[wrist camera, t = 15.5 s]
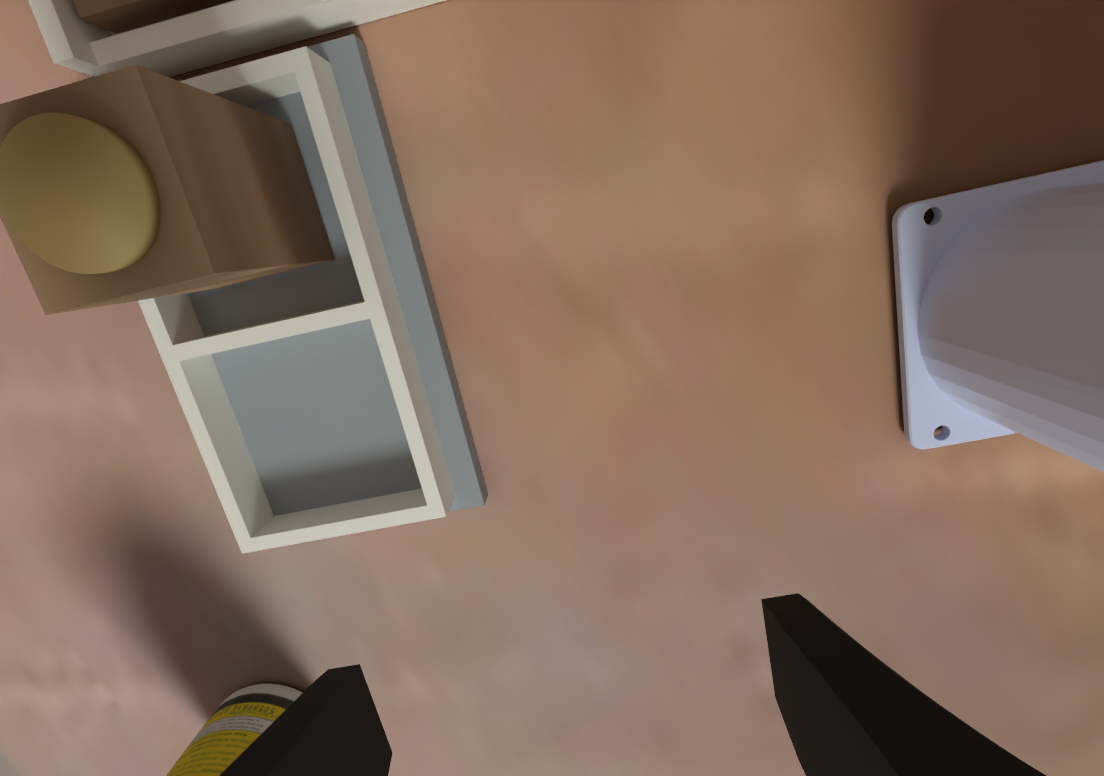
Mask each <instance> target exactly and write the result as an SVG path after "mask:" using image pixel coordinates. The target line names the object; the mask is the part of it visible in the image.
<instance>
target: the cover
mask: <svg viewBox="0 0 1104 776" xmlns="http://www.w3.org/2000/svg"><path fill="white" fill-rule="evenodd" d="M73 1H74V4H75V7H76V9H77V12H78V14H79V17H80V18H81V19H83V20H86V21H88V22H90V23H93V24H95V25H97V26H100V27H102V28H104V29H106V30H109V31H111V32H113V33H116V34H117V33H120V32H124V31H127V30H131V29H134V28H138V27H141V26H145V25H148V24H152V23H155V22H159V21H162V20H165V19H169V18H172V17H176V16H179V15H183V14H186V13H190V12H193V11H197V10H200V9H203V8H207V7H210V6H214V5H217V4H221V3H224V2H228V1H231V0H73Z"/></svg>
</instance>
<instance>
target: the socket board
mask: <svg viewBox="0 0 1104 776" xmlns="http://www.w3.org/2000/svg"><path fill="white" fill-rule="evenodd" d="M180 82H182V83H185V84H188V85H190V86H193V87H196V88H198V89H201V90H203V91H206V92H209V93H211V94H214V95H217V96H219V97H222V98H224V99H227V100H230V101H232V102H235V103H238V104H240V105H243V106H245V107H248V108H251V109H253V110H256V111H259V112H261V113H264V114H267V115H269V116H272V117H274V118H277V119H280V120H282V121H285V122H288V123H290V124H291V125H292V128H293V131H294V134H295V137H296V140H297V143H298V146H299V149H300V153H301V156H302V159H303V162H304V165H305V168H306V171H307V174H308V177H309V181H310V184H311V187H312V190H313V193H314V196H315V199H316V202H317V205H318V208H319V212H320V215H321V218H322V221H323V224H324V227H325V230H326V233H327V236H328V240H329V243H330V246H331V249H332V252H333V255H334V258H335V260H332V261H328V262H324V263H320V264H315V265H311V266H307V267H303V268H299V269H295V270H291V271H287V272H282V273H278V274H274V275H270V276H266V277H262V278H258V279H254V280H250V281H245V282H241V283H237V284H233V285H229V286H225V287H221V288H216V289H209V290H203V291H196V292H190V293H183V294H177V295H171V296H164V297H158V298H151V299H145V300H138V302H139V304H140V307H141V309H142V312H143V314H144V316H145V319H146V321H147V324H148V326H149V329H150V331H151V333H152V336H153V338H154V341H155V343H156V346H157V348H158V350H159V353H160V355H161V358H162V360H163V363H164V365H165V367H166V370H167V372H168V375H169V377H170V380H171V382H172V384H173V387H174V389H175V392H176V394H177V397H178V399H179V401H180V404H181V406H182V409H183V411H184V414H185V416H186V419H187V421H188V423H189V426H190V428H191V431H192V433H193V436H194V438H195V440H196V443H197V445H198V448H199V450H200V453H201V455H202V457H203V460H204V462H205V465H206V467H207V470H208V472H209V474H210V477H211V479H212V482H213V484H214V487H215V489H216V491H217V494H218V496H219V499H220V501H221V504H222V506H223V508H224V511H225V513H226V516H227V518H228V521H229V523H230V525H231V528H232V530H233V533H234V535H235V538H236V540H237V542H238V545H239V547H240V550H241V552H242V554H243V553H248V552H254V551H259V550H265V549H270V548H276V547H281V546H287V545H292V544H298V543H303V542H309V541H314V540H320V539H325V538H331V537H336V536H342V535H347V534H353V533H358V532H364V531H369V530H375V529H380V528H386V527H391V526H397V525H402V524H408V523H413V522H419V521H424V520H430V519H435V518H441V517H446V516H447V514H448V512H449V511H454V510H460V509H465V508H471V507H476V506H482V505H485V502H486V499H487V496H488V493H487V490H486V486H485V482H484V479H483V475H482V471H481V468H480V464H479V460H478V457H477V453H476V449H475V446H474V442H473V438H472V435H471V431H470V427H469V424H468V420H467V416H466V413H465V409H464V406H463V402H462V398H461V395H460V391H459V387H458V384H457V380H456V376H455V373H454V369H453V365H452V362H451V358H450V354H449V351H448V347H447V343H446V340H445V336H444V332H443V329H442V325H441V322H440V318H439V314H438V311H437V307H436V303H435V300H434V296H433V292H432V289H431V285H430V281H429V278H428V274H427V270H426V267H425V263H424V259H423V256H422V252H421V249H420V245H419V241H418V238H417V234H416V230H415V227H414V223H413V219H412V216H411V212H410V208H409V205H408V201H407V197H406V194H405V190H404V186H403V183H402V179H401V175H400V172H399V168H398V165H397V161H396V157H395V154H394V150H393V146H392V143H391V139H390V135H389V132H388V128H387V124H386V121H385V117H384V113H383V110H382V106H381V102H380V99H379V95H378V91H377V88H376V84H375V81H374V77H373V73H372V70H371V66H370V62H369V59H368V55H367V51H366V48H365V44H364V42H362V41H361V40H360V39H359V38H358V37H357V36H356V35H355V34H352V35H348V36H344V37H341V38H337V39H334V40H330V41H326V42H323V43H319V44H315V45H312V46H308V47H306V46H305V47H302V48H298V49H294V50H291V51H287V52H283V53H280V54H276V55H273V56H269V57H265V58H262V59H258V60H254V61H251V62H247V63H244V64H240V65H236V66H233V67H229V68H225V69H222V70H218V71H215V72H211V73H207V74H204V75H200V76H197V77H193V78H189V79H186V80H182V81H180Z"/></svg>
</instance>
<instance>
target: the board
mask: <svg viewBox="0 0 1104 776" xmlns="http://www.w3.org/2000/svg"><path fill="white" fill-rule="evenodd" d="M28 1H29V4H30V6H31V9H32V11H33V14H34V16H35V18H36V21H37V23H38V26H39V28H40V31H41V33H42V36H43V38H44V41H45V43H46V46H47V48H48V50H49V53H50V55H51V58H52V60H53V63H54V64H57V65H60V66H63V67H67V68H70V69H73V70H76V71H79V72H82V73H85V74H88V75H91V76H94V77H96V76H99V75H102V74H106V73H109V72H113V71H116V70H120V69H123V68H126V67H130V66H133V65H138V66H140V67H143V68H146V69H148V70H151V71H154V72H156V73H159V74H161V75H164V76H167V77H172V76H175V75H179V74H183V73H186V72H190V71H193V70H197V69H201V68H204V67H208V66H211V65H215V64H219V63H222V62H226V61H230V60H233V59H237V58H240V57H244V56H248V55H251V54H255V53H258V52H262V51H266V50H269V49H273V48H276V47H280V46H284V45H287V44H291V43H294V42H298V41H302V40H305V39H309V38H312V37H316V36H320V35H323V34H327V33H330V32H334V31H338V30H341V29H345V28H348V27H352V26H356V25H359V24H363V23H366V22H370V21H374V20H377V19H381V18H384V17H388V16H392V15H395V14H399V13H402V12H406V11H410V10H413V9H417V8H420V7H424V6H428V5H431V4H435V3H438V2H442V1H446V0H231V1H228V2H224V3H221V4H217V5H214V6H210V7H207V8H203V9H200V10H197V11H193V12H190V13H186V14H183V15H179V16H176V17H172V18H169V19H165V20H162V21H159V22H155V23H152V24H148V25H145V26H141V27H138V28H134V29H131V30H127V31H124V32H120V33H117V34H116V33H113V32H111V31H109V30H106V29H104V28H102V27H100V26H97V25H95V24H93V23H90V22H88V21H86V20H83V19H81V18H80V17H79V14H78V12H77V9H76V7H75V4H74V1H73V0H28Z"/></svg>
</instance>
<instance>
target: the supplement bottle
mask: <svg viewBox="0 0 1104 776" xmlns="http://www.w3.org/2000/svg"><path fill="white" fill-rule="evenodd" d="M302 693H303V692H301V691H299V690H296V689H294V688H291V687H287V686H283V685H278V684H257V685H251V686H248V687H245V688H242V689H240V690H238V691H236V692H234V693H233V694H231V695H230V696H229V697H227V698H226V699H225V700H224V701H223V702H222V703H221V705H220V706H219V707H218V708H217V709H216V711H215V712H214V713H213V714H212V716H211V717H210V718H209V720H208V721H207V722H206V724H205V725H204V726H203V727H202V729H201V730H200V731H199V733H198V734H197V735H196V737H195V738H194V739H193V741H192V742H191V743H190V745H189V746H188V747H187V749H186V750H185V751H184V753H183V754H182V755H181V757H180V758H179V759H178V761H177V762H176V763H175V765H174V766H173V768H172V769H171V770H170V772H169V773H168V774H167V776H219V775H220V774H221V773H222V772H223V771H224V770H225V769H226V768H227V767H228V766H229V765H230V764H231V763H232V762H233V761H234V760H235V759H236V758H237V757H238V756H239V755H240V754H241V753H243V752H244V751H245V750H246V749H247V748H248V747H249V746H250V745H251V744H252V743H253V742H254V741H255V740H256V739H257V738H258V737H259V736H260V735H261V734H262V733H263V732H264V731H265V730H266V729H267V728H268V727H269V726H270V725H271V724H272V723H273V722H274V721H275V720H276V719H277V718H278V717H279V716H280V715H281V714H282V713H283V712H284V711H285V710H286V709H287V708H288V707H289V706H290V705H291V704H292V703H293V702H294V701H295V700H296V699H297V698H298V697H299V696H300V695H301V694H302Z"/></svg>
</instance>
